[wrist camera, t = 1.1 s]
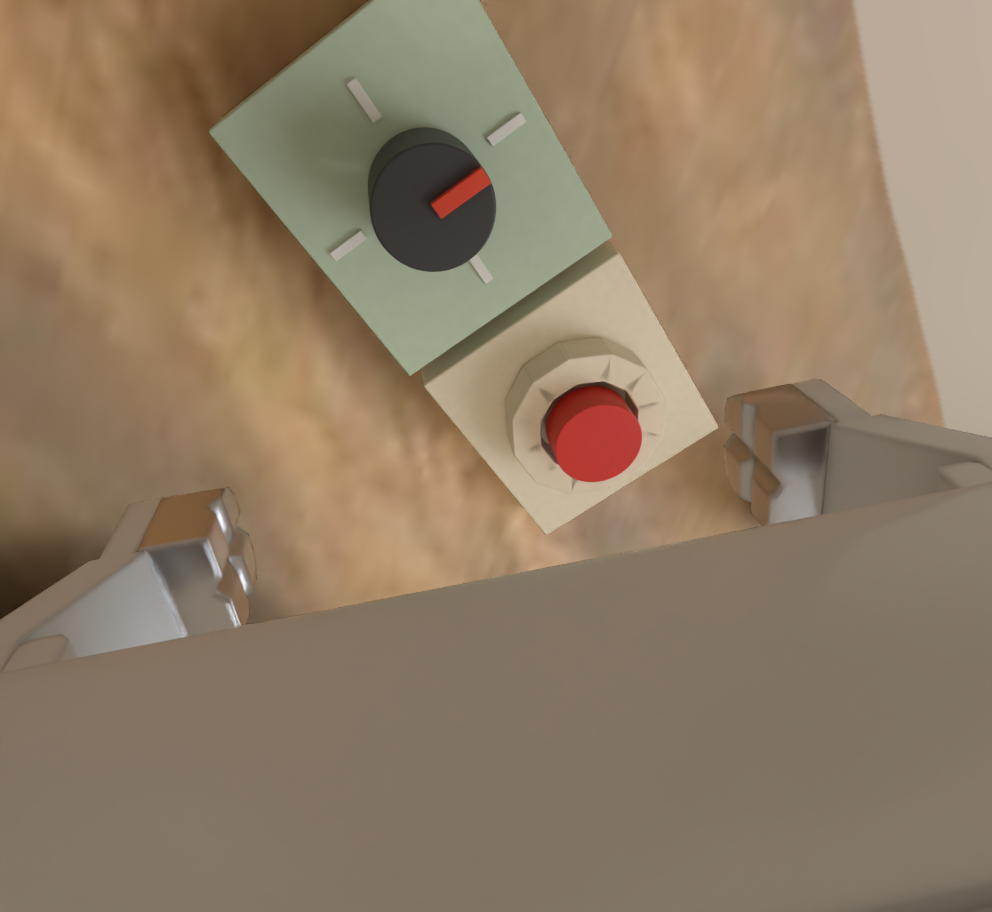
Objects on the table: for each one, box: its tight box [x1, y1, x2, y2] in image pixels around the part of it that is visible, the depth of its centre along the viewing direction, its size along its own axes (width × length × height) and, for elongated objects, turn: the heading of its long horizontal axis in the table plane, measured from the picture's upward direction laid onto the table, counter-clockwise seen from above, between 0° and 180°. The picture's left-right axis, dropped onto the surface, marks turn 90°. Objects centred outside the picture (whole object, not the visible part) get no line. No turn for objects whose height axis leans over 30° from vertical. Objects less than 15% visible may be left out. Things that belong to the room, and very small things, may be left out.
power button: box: [546, 386, 642, 482], centre depth 32 cm, size 4×4×2 cm
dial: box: [368, 127, 496, 272], centre depth 25 cm, size 4×4×4 cm
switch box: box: [421, 241, 718, 535], centre depth 34 cm, size 10×10×4 cm
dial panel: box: [209, 0, 612, 376], centre depth 28 cm, size 11×10×3 cm
